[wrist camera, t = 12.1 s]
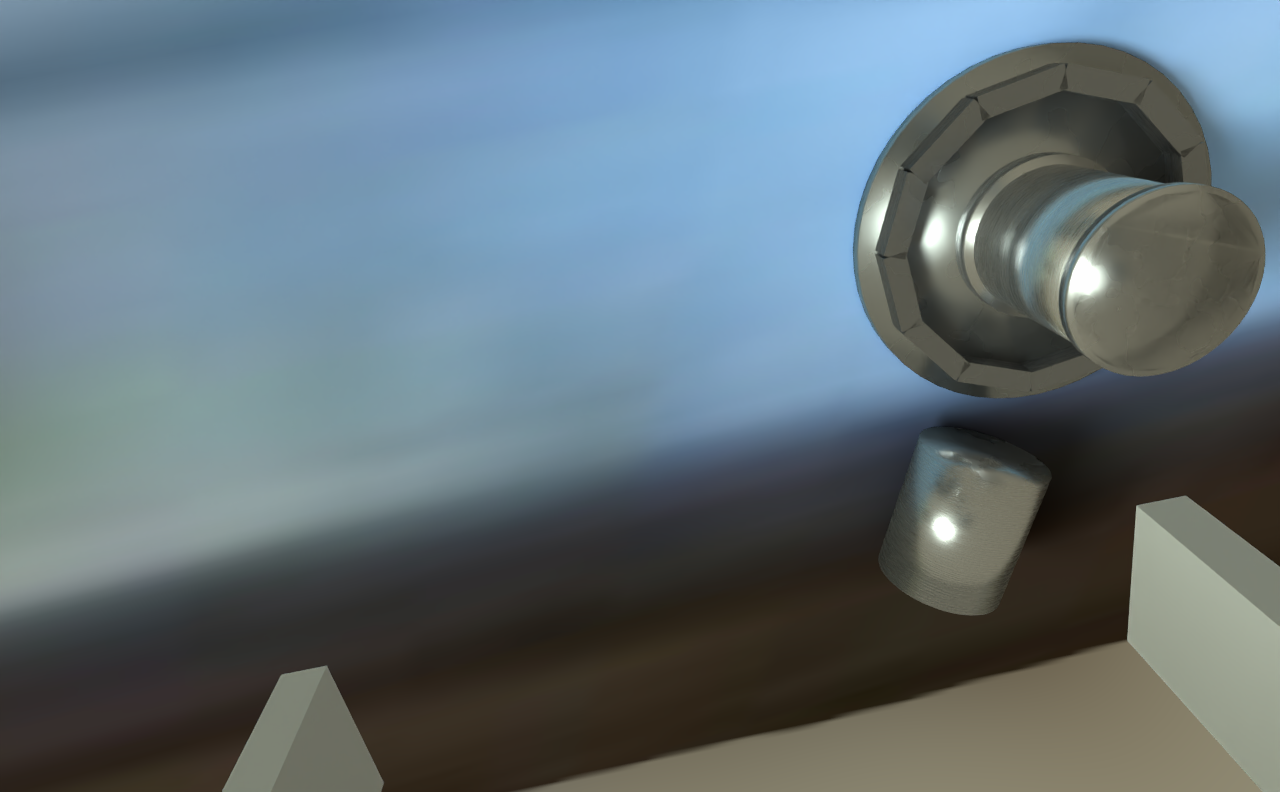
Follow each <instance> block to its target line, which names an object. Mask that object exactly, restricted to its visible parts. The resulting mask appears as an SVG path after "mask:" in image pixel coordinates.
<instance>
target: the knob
mask: <svg viewBox="0 0 1280 792" xmlns="http://www.w3.org/2000/svg"><path fill="white" fill-rule="evenodd" d="M955 254H956V261H957V265H958V269H959V272H960V274H961V277H962V279H963V281H964V282H965V284H966V285H967V287H968V288H969V289H970V290H971V292H972V293H973V294H974V295H975V296H977V297H978V298H979V299H980V300H982V301H983V302H985V303H987V304H988V305H990V306H991V307H993V308H995V309H997V310H998V311H1001V312H1003V313H1006V314H1008V315H1013V316H1017V317H1029V318H1030V319H1032V320H1034V321H1035V322H1037V323H1039V324H1041V325H1042V326H1044V327H1046V328H1047V329H1049V330H1051V331H1053V332H1054V333H1056V334H1058V335H1059V336H1061V337H1063V338H1065V339H1066V340H1068V341H1070V342H1071V343H1072V344H1073V346H1074V347H1075V348H1076V349H1077V350H1078V351H1079V352H1080V353H1081V354H1082V355H1084V356H1085V357H1086V358H1088V359H1089V360H1091V361H1093V362H1094V363H1096V364H1098V365H1099V366H1101V367H1103V368H1104V369H1107V370H1109V371H1112V372H1114V373H1118V374H1123V375H1128V376H1152V375H1159V374H1164V373H1167V372H1171V371H1174V370H1177V369H1180V368H1182V367H1185V366H1187V365H1189V364H1191V363H1193V362H1195V361H1197V360H1199V359H1200V358H1202V357H1203V356H1205V355H1206V354H1208V353H1209V352H1211V351H1212V350H1213V349H1215V348H1216V347H1217V346H1218V345H1220V344H1221V343H1222V342H1223V341H1224V340H1225V339H1226V338H1227V337H1228V336H1229V335H1230V334H1231V333H1232V332H1233V331H1234V330H1235V328H1236V327H1237V326H1238V325H1239V324H1240V322H1241V321H1242V320H1243V318H1244V317H1245V315H1246V314H1247V312H1248V311H1249V309H1250V307H1251V305H1252V303H1253V302H1254V300H1255V297H1256V295H1257V292H1258V290H1259V288H1260V284H1261V281H1262V277H1263V272H1264V266H1265V244H1264V238H1263V234H1262V231H1261V227H1260V225H1259V223H1258V221H1257V219H1256V217H1255V216H1254V214H1253V213H1252V211H1251V210H1250V209H1249V208H1248V207H1247V206H1246V205H1245V204H1244V203H1243V202H1242V201H1241V200H1240V199H1238V198H1237V197H1235V196H1234V195H1233V194H1231V193H1229V192H1226V191H1224V190H1222V189H1219V188H1215V187H1211V186H1207V185H1202V184H1196V183H1188V182H1172V183H1165V184H1164V183H1159V182H1154V181H1149V180H1144V179H1139V178H1134V177H1130V176H1125V175H1120V174H1115V173H1110V172H1108V171H1107V170H1106V169H1105V168H1104V167H1102V166H1101V165H1099V164H1098V163H1096V162H1094V161H1092V160H1090V159H1087V158H1084V157H1080V156H1077V155H1071V154H1066V153H1058V152H1042V153H1036V154H1031V155H1028V156H1024V157H1021V158H1019V159H1017V160H1014V161H1012V162H1010V163H1008V164H1007V165H1005V166H1003V167H1002V168H1000V169H999V170H997V171H996V172H995V173H993V174H992V175H991V176H990V177H989V178H988V179H987V180H986V181H984V182H983V183H982V185H981V186H980V187H979V188H978V189H977V190H976V192H975V193H974V195H973V196H972V197H971V199H970V200H969V202H968V204H967V206H966V208H965V210H964V211H963V214H962V217H961V219H960V222H959V226H958V229H957V234H956V242H955Z"/></svg>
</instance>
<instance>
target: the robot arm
mask: <svg viewBox="0 0 1280 792" xmlns="http://www.w3.org/2000/svg"><path fill="white" fill-rule="evenodd" d="M1127 641H1128V642H1129V643H1130V644H1131V645H1132V646H1133V647H1134V648H1135V650H1136V651H1137V652H1138V653H1139V654H1140V655H1141V656H1142V657H1143V658H1144V660H1145V661H1146V662H1147V663H1148V664H1149V665H1150V666H1151V667H1152V669H1153V670H1154V671H1155V672H1156V673H1157V674H1158V675H1159V676H1160V678H1161V679H1162V680H1163V681H1164V682H1165V683H1166V684H1167V685H1168V686H1169V688H1170V689H1171V690H1172V691H1173V692H1174V693H1175V694H1176V695H1177V697H1178V698H1179V699H1180V700H1181V701H1182V702H1183V703H1184V704H1185V705H1186V707H1187V708H1188V709H1189V710H1190V711H1191V712H1192V713H1193V714H1194V715H1195V717H1196V718H1197V719H1198V720H1199V721H1200V722H1201V723H1202V724H1203V726H1204V727H1205V728H1206V729H1207V730H1208V731H1209V732H1210V733H1211V734H1212V736H1213V737H1214V738H1215V739H1216V740H1217V741H1218V742H1219V743H1220V744H1221V746H1222V747H1223V748H1224V749H1225V750H1226V751H1227V752H1228V754H1230V756H1231V757H1232V758H1233V759H1234V760H1235V761H1236V762H1237V763H1238V765H1239V766H1240V767H1241V768H1242V769H1243V770H1244V771H1245V773H1246V774H1247V775H1248V776H1249V777H1250V778H1251V779H1252V780H1253V781H1254V783H1255V784H1256V785H1257V786H1258V787H1259V788H1260V789H1261V790H1262V791H1263V792H1280V567H1279V566H1278V565H1276V564H1275V563H1274V562H1273V561H1271V560H1270V559H1269V558H1267V557H1266V556H1265V555H1263V554H1262V553H1261V552H1259V551H1258V550H1257V549H1255V548H1254V547H1253V546H1251V545H1250V544H1249V543H1248V542H1246V541H1245V540H1244V539H1242V538H1241V537H1240V536H1238V535H1237V534H1236V533H1234V532H1233V531H1232V530H1230V529H1229V528H1228V527H1226V526H1225V525H1224V524H1222V523H1221V522H1220V521H1219V520H1217V519H1216V518H1215V517H1213V516H1212V515H1211V514H1209V513H1208V512H1207V511H1205V510H1204V509H1203V508H1201V507H1200V506H1199V505H1197V504H1196V503H1195V502H1194V501H1192V500H1191V499H1190V498H1188V497H1187V496H1182V497H1177V498H1172V499H1167V500H1162V501H1157V502H1152V503H1147V504H1142V505H1137V507H1136V522H1135V536H1134V551H1133V565H1132V579H1131V594H1130V608H1129V623H1128V637H1127ZM383 783H384V782H383V780H382V778H381V776H380V774H379V772H378V770H377V768H376V766H375V764H374V762H373V760H372V758H371V756H370V754H369V752H368V750H367V748H366V746H365V743H364V741H363V739H362V737H361V735H360V733H359V731H358V729H357V727H356V725H355V723H354V721H353V719H352V717H351V715H350V713H349V711H348V709H347V707H346V705H345V702H344V700H343V698H342V696H341V694H340V692H339V690H338V688H337V686H336V684H335V682H334V680H333V678H332V676H331V674H330V672H329V670H328V668H327V666H323V667H318V668H313V669H308V670H303V671H298V672H293V673H288V674H283V675H281V676H280V678H279V680H278V682H277V684H276V686H275V688H274V690H273V692H272V694H271V696H270V698H269V700H268V702H267V704H266V706H265V708H264V710H263V712H262V714H261V716H260V718H259V720H258V722H257V724H256V726H255V728H254V730H253V732H252V734H251V736H250V738H249V740H248V741H247V743H246V745H245V747H244V749H243V751H242V753H241V755H240V757H239V759H238V761H237V763H236V765H235V767H234V769H233V771H232V773H231V775H230V777H229V779H228V781H227V783H226V785H225V787H224V789H223V791H222V792H381V790H382V786H383Z"/></svg>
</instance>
